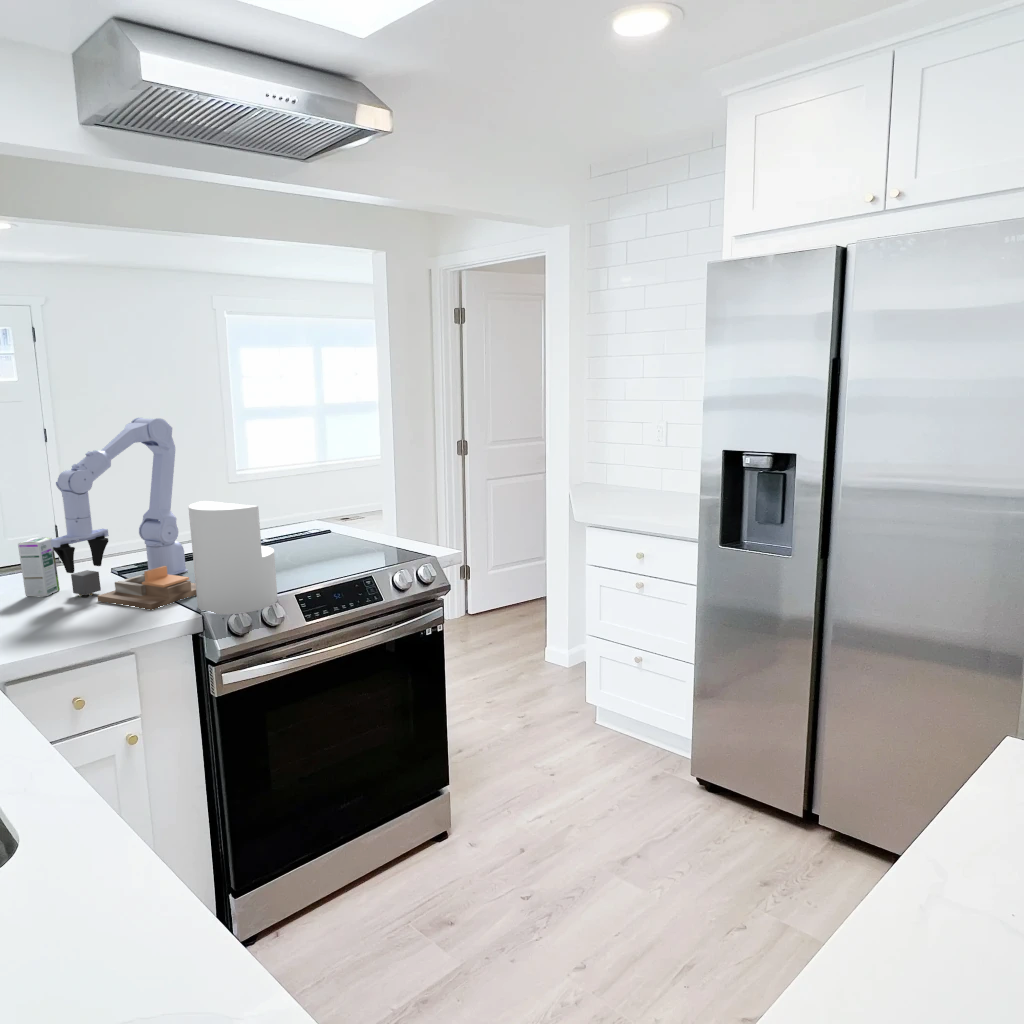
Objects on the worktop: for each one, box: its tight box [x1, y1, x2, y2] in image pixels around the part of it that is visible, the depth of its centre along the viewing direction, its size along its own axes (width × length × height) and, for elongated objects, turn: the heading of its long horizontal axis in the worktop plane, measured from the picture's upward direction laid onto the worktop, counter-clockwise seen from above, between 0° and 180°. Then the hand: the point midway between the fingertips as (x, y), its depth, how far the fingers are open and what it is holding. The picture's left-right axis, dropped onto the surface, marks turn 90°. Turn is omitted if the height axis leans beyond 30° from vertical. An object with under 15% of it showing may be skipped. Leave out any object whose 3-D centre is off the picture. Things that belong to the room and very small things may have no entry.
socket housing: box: [97, 573, 197, 611], centre depth 200 cm, size 18×19×4 cm
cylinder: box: [187, 500, 278, 615], centre depth 191 cm, size 19×19×25 cm
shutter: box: [142, 566, 190, 588], centre depth 197 cm, size 8×8×3 cm
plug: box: [70, 569, 102, 597], centre depth 202 cm, size 4×7×6 cm, turn 65°
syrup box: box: [17, 537, 60, 597], centre depth 202 cm, size 6×6×14 cm
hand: (84, 569), depth 201 cm, fingers open, 7 cm apart
